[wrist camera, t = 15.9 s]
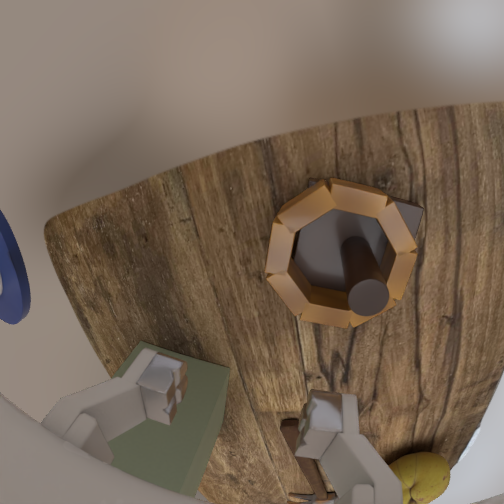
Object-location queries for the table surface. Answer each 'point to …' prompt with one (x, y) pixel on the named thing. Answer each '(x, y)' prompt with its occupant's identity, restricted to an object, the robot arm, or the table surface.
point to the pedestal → (176, 430)
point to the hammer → (306, 469)
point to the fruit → (421, 476)
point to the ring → (313, 207)
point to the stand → (350, 254)
